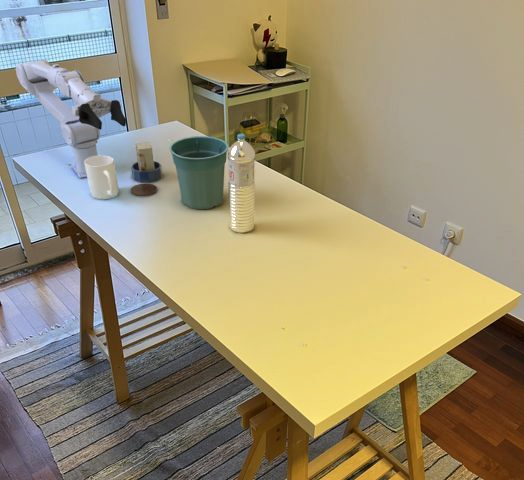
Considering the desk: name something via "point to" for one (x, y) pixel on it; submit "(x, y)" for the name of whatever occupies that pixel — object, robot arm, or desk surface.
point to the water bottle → (241, 185)
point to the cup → (101, 177)
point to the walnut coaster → (144, 189)
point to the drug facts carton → (145, 156)
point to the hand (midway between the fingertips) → (112, 124)
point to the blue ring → (146, 173)
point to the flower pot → (200, 170)
